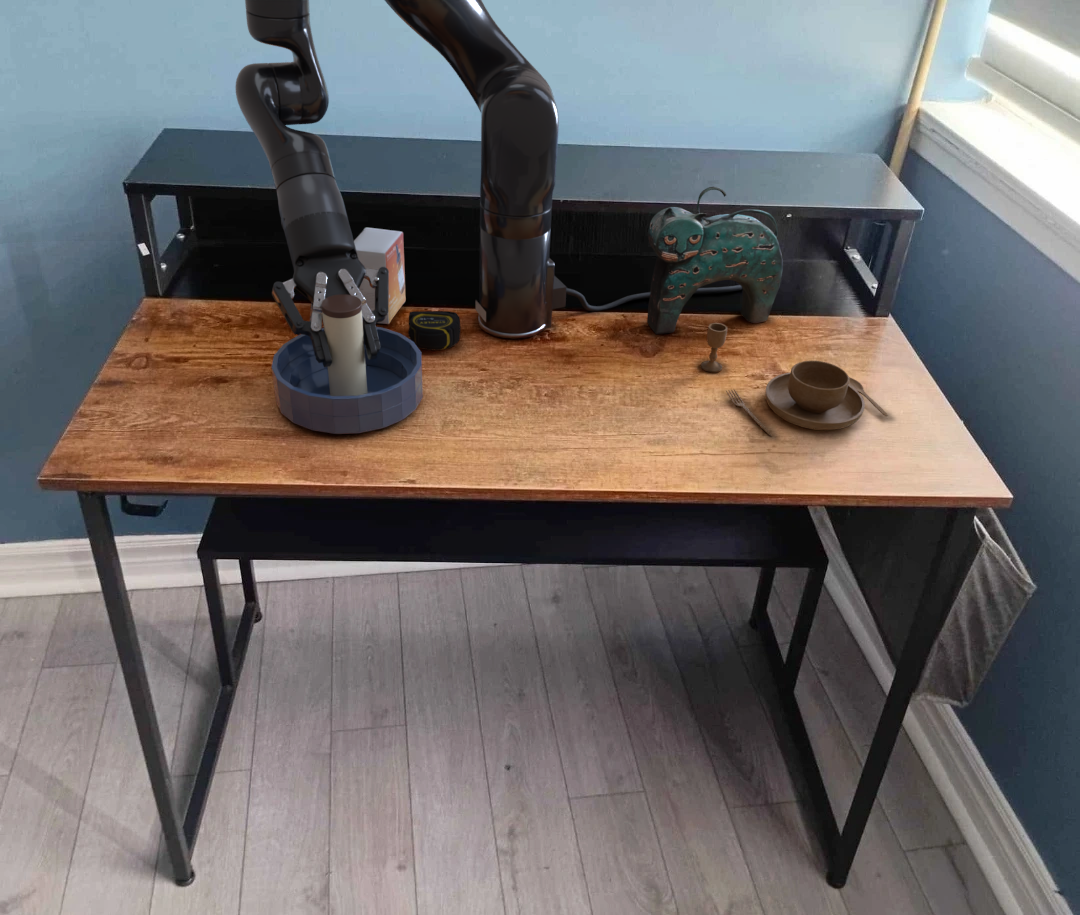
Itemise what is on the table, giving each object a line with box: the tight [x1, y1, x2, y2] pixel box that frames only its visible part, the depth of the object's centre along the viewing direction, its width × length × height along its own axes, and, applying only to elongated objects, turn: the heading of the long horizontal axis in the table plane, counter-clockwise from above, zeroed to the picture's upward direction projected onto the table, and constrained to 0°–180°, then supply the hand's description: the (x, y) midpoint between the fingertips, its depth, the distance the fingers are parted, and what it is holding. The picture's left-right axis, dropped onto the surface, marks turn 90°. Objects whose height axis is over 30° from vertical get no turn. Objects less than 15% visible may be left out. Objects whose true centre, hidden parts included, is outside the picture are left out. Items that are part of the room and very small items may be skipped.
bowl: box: [271, 326, 424, 435], centre depth 116 cm, size 17×17×6 cm
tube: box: [321, 294, 367, 396], centre depth 114 cm, size 4×4×12 cm
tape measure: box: [407, 310, 461, 351], centre depth 129 cm, size 7×7×4 cm
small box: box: [353, 227, 407, 325], centre depth 134 cm, size 8×6×10 cm
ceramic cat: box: [646, 186, 784, 335], centre depth 132 cm, size 20×6×20 cm, turn 106°
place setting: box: [700, 322, 889, 437], centre depth 122 cm, size 18×20×6 cm
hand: (350, 360), depth 113 cm, fingers open, 4 cm apart
